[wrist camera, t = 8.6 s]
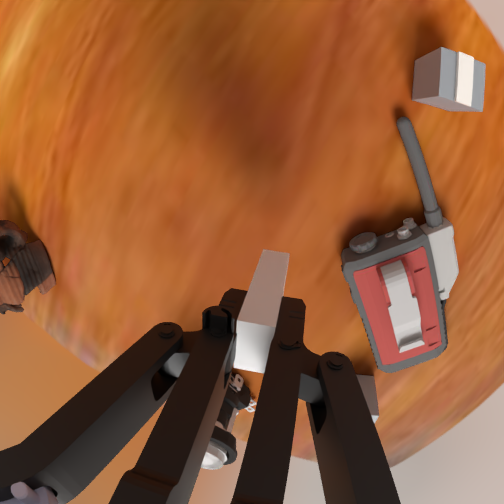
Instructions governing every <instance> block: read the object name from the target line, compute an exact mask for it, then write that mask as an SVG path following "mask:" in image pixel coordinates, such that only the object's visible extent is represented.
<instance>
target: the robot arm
mask: <svg viewBox="0 0 504 504" xmlns="http://www.w3.org/2000/svg"><path fill="white" fill-rule="evenodd" d="M289 255H290V253H284V252H277V251H271V250H265V249H263V252H262V254H261V257H260V260H259V262H258V265H257V268H256V271H255V273H254V276H253V279H252V281H251V284H250V287H249V289H248V291H244V290H239V289H233V288H231V289H229V290H228V291H227V292H225V293H224V295H223V297H222V300H221V301H220V304H219V306H212V307H209V308H207V309H205V310H204V311H203V312H202V322H203V328H202V330H199V331H194V332H183V330H182V328H181V327H180V326H179V325H177V324H175V323H172V322H163V323H159V324H157V325H156V326H154V327H153V328H152V329H151V330H149V331H148V332H147V333H146V334H145V335H144V336H143V337H141V338H140V339H139V340H138V341H137V342H136V343H134V344H133V345H132V346H131V347H130V348H129V349H128V350H126V351H125V352H124V353H123V354H122V355H121V356H119V357H118V358H117V359H116V360H115V361H114V362H113V363H111V364H110V365H109V366H108V367H107V368H106V369H105V370H103V371H102V372H101V373H100V374H99V375H98V376H96V377H95V378H94V379H93V380H92V381H91V382H90V383H89V384H87V385H86V386H85V387H84V388H83V389H82V390H81V391H79V392H78V393H77V394H76V395H75V396H74V397H73V398H71V399H70V400H69V401H68V402H67V403H66V404H65V405H64V406H62V407H61V408H60V409H59V410H58V411H57V412H55V414H53V415H52V416H51V417H50V418H49V419H47V420H46V421H45V422H44V423H43V424H42V425H41V426H40V427H39V428H37V429H36V430H35V431H34V432H33V433H32V434H30V435H29V436H28V437H27V438H26V439H25V440H24V441H23V442H21V443H20V444H18V445H15V446H13V447H10V448H7V449H5V450H2V451H0V504H66V503H68V502H69V501H71V500H72V499H74V498H75V497H76V496H77V495H78V494H80V493H81V492H82V491H83V490H84V489H85V488H86V487H87V486H88V485H89V484H90V483H91V482H92V480H94V478H95V477H96V476H97V475H98V474H99V473H100V472H101V471H102V470H103V469H104V468H105V467H106V466H107V464H109V462H110V461H111V460H112V459H113V458H114V457H115V456H116V455H117V454H118V453H119V452H120V451H121V450H122V449H123V447H124V446H125V445H126V444H127V443H128V442H129V441H130V440H131V439H132V438H133V437H134V435H135V434H136V433H137V432H138V431H139V430H140V429H141V427H143V425H144V424H145V423H146V422H147V421H148V420H149V419H150V418H151V417H152V416H153V414H154V413H155V412H156V411H157V410H158V409H159V408H160V407H161V406H162V404H163V403H164V402H165V401H166V400H167V401H166V403H165V405H164V407H163V410H162V412H161V414H160V416H159V418H158V420H157V422H156V424H155V426H154V428H153V430H152V432H151V434H150V436H149V438H148V440H147V443H146V445H145V447H144V449H143V451H142V453H141V455H140V457H139V459H138V461H137V463H136V465H135V467H134V468H133V469H131V470H128V471H126V472H125V473H124V475H123V476H122V478H121V480H120V481H119V484H118V486H117V488H116V490H115V492H114V494H113V496H112V498H111V500H110V502H109V504H188V502H189V499H190V496H191V494H192V491H193V488H194V485H195V482H196V479H197V476H198V473H199V470H200V468H201V465H202V462H203V459H204V456H205V453H206V450H207V447H208V444H209V441H210V438H211V436H212V433H213V430H214V427H215V424H216V421H217V418H218V415H219V412H220V409H221V406H222V403H223V400H224V397H225V394H226V391H227V388H228V384H229V381H230V378H231V370H232V366H233V363H234V368H238V369H243V370H248V371H254V372H259V373H264V376H263V380H262V385H261V389H260V393H259V397H258V401H257V406H256V410H255V414H254V418H253V422H252V426H251V430H250V434H249V438H248V442H247V446H246V450H245V454H244V458H243V462H242V465H241V469H240V473H239V477H238V481H237V484H236V488H235V492H234V495H233V498H232V501H231V503H230V504H283V500H284V493H285V487H286V481H287V476H288V469H289V463H290V457H291V450H292V443H293V436H294V428H295V421H296V413H297V405H298V398H299V399H302V400H304V401H306V407H307V411H308V416H309V421H310V426H311V431H312V435H313V440H314V445H315V450H316V455H317V460H318V465H319V470H320V474H321V480H322V485H323V490H324V496H325V501H326V504H401V503H400V500H399V497H398V493H397V490H396V487H395V484H394V481H393V478H392V474H391V471H390V468H389V465H388V462H387V459H386V456H385V453H384V450H383V447H382V444H381V442H380V439H379V436H378V433H377V430H376V427H375V424H374V422H373V419H372V416H371V413H370V410H369V408H368V405H367V402H366V400H365V397H364V394H363V391H362V389H361V386H360V383H359V381H358V378H357V376H356V373H355V370H354V368H353V365H352V363H351V361H350V359H349V358H348V357H347V356H345V355H344V354H341V353H339V352H327V353H325V354H323V355H322V356H320V355H317V354H315V353H313V352H311V351H310V350H308V349H307V348H306V347H305V345H304V343H303V333H304V322H305V310H306V306H305V304H304V302H303V300H302V299H296V298H290V297H284V296H283V293H284V287H285V281H286V275H287V268H288V262H289Z"/></svg>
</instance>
